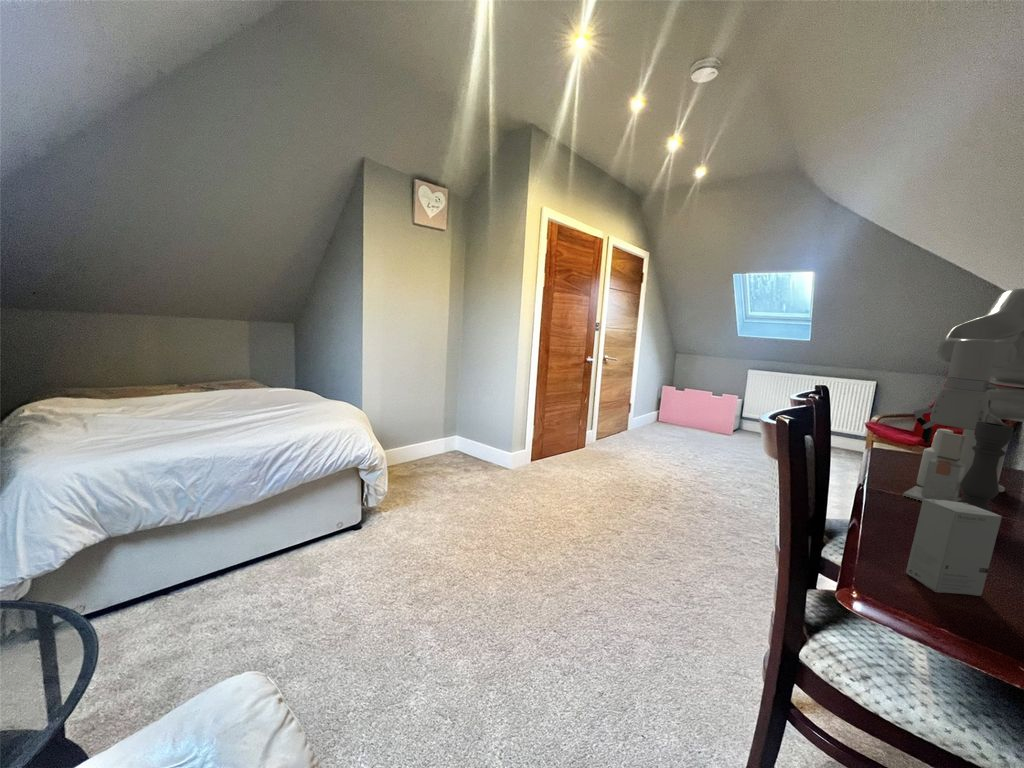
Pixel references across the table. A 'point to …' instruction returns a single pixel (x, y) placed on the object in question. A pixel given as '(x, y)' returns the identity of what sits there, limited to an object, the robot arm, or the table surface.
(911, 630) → the table surface
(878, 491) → the table surface
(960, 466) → the white blocky piece
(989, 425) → the candle holder
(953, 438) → the jack column
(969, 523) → the skincare box
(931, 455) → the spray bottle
